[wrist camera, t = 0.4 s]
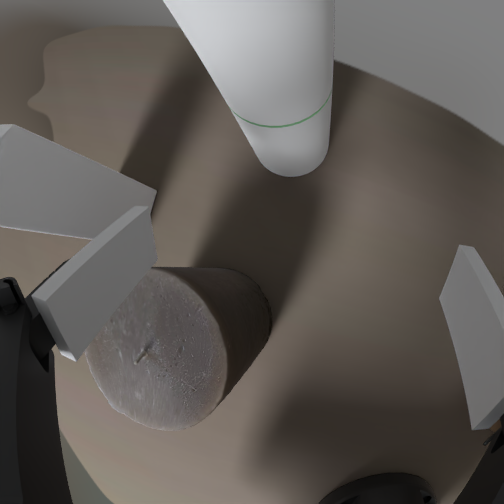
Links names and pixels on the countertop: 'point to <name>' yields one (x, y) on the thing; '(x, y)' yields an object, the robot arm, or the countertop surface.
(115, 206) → the milk
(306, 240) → the countertop surface
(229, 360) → the pillar candle
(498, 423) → the socket
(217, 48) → the cylindrical container
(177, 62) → the countertop surface
